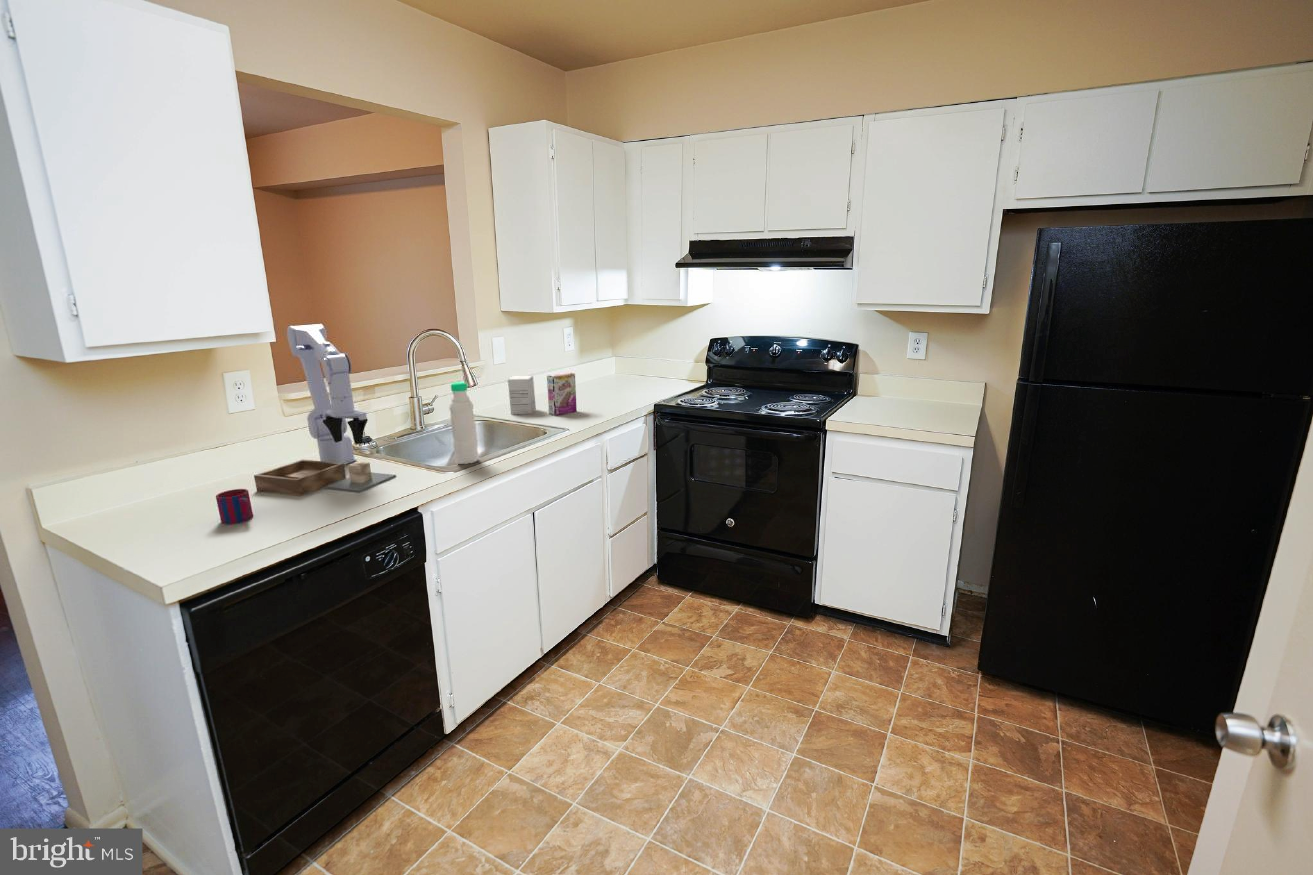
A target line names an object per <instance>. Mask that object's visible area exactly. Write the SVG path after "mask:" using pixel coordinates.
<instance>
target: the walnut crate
mask: <svg viewBox="0 0 1313 875" xmlns="http://www.w3.org/2000/svg"><path fill="white" fill-rule="evenodd" d="M253 477H254V478H253V479H254V483H255V488H256V491H257V492H265V493H271V494H272V493H273V494H280V495H288V496H295V497H298V496H299V497H301V496H304V495H306V494H308V493H311V492H314V491H317V490H319V489H321V488H325V487H326V486H328V485H331V484H333V483H336V482H339V481H341V480H344V479H346V478H347V476H346V470H345V465H344V463H334V462H324V461H319V460H314V459H313V460H312V459H300V460H296V461H294V462H291V463H288V464H285V465H281V466H278V467H276V468H273V469H269V470H267V471H263V472H260V473H258V474H255V475H253Z"/></svg>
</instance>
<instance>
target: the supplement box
mask: <svg viewBox="0 0 1313 875" xmlns="http://www.w3.org/2000/svg"><path fill="white" fill-rule="evenodd" d="M534 384H535V383H534V375H513V376H511V377H510V378H508V379H507V385H508V386H507V387H508V394H509V395H508V397H509V406H510V415H532V414H533V413H534V412H535V411H536V409H537V408H536V407H537V406H536V394H535V385H534Z"/></svg>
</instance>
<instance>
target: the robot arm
mask: <svg viewBox="0 0 1313 875" xmlns="http://www.w3.org/2000/svg"><path fill="white" fill-rule="evenodd" d="M286 337H287V341H288V346H289V348H290V352H291V354H292V355H293V356H294V357H297V358H298V359H299V361H300V363H301V365H302V369H303V372H304V375H305V379H306V383H307V387H308V390H309V393H310V396H311V401H312V404H313V409H312V410H311V411H310V412H309V413H308V414H307V417H306V418H307V424H308V431H309V434H310V436H311V438H313V439H315V440H316V442H317V447H318V448H317V449H318V454H319V460H320V461H324V462H334V463H344V466H345V465H347V464H348V465H349V464H350V463H354V462H355V461H356V462H357V458H355V453H354V448H353V442H354V445H360V444H362V443H363V439H364V438H363V437H364V432H365V428H366V425H367V423H368V421H369V420H368V418H367V417H368V416H367V412H366V411H360V410H357V409H355V403H354V398H353V390H352V384H351V378H350V374H351V372H352V363H351V359H350V357H349V355H348V353H346V352H344V353H341V352H340V351H339V350H338V349H337V347H335V345H334V344H333V343H331V342H330V341H327V340H328V334H327V331H326V328H325V326H324V325H323V324H322V323H318V324H305V325H289V326H288V327H287V329H286ZM320 363H321V366H320ZM321 367H322V368H321ZM322 371H323V372H322ZM323 373H324V374H323ZM323 375H324V376H323ZM324 378H325V380H324ZM325 381H326V382H327V385H328V389H327V386H326V382H325ZM328 391H329V393H328ZM329 396H330V397H329ZM346 419H349V420H348V421H347V420H346ZM351 419H352V420H351ZM348 426H349V428H350V430H351V433H352V438H353V442H352V439H351V437H350V436H349V435H348V434H346V433H347V430H348Z"/></svg>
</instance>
